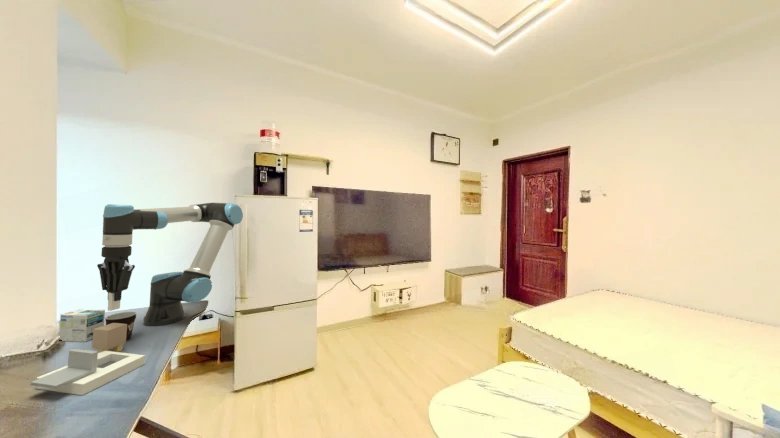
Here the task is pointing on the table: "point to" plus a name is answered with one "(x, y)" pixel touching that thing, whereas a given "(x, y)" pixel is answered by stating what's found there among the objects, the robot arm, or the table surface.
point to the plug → (109, 337)
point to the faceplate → (101, 372)
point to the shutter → (71, 369)
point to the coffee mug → (123, 321)
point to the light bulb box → (80, 324)
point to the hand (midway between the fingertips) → (113, 309)
